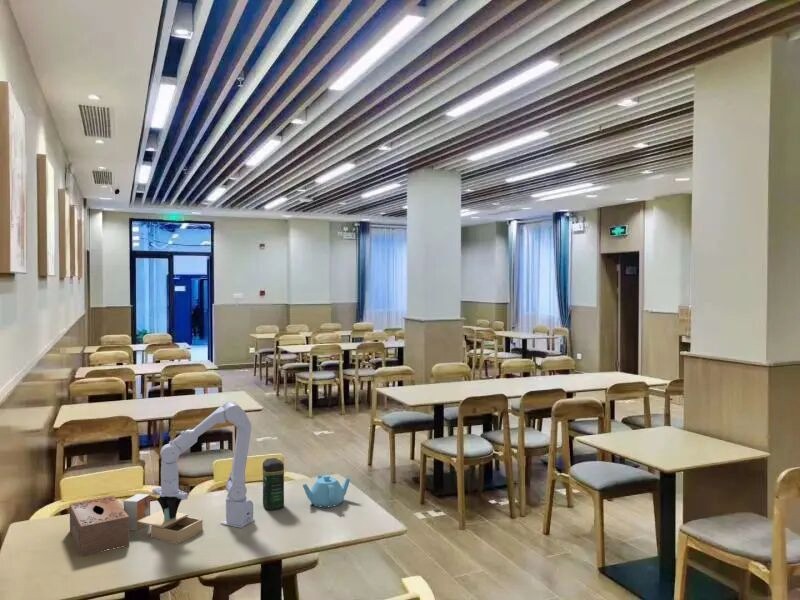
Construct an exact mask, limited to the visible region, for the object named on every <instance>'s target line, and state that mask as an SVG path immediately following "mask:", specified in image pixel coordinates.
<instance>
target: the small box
mask: <svg viewBox="0 0 800 600" xmlns="http://www.w3.org/2000/svg"><path fill="white" fill-rule="evenodd" d="M123 509H124V510H125V512H126V513H127V515H128V516H129V531H138V530H141V529H142V528H143V527H145V526H146V525H145V524H140V523H137V521H138V520H140V519H143V518H145V517H147V516H149V515H151V494H148V493H136V494H134V495H132V496H131V497H129V498H127V499H124V500H123Z"/></svg>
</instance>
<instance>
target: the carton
mask: <svg viewBox="0 0 800 600" xmlns="http://www.w3.org/2000/svg"><path fill="white" fill-rule="evenodd" d="M203 521H204V520H203V519H201V518H196V517H191V516H187V517H185V518H183V519H181V520H178V521H176V522H174V523H172V524H170V525H168V526H166V527H164V528H160V527H155V526H150V538H151V539H154V540H158V541H162V542H168V543H173V544H176V545H177V544H178V545H179V543H181V542H184V541H186V540H188V539H190V538H191V537H193V536H195V535H197V534H199V533H201V532H202V531H203V529H204V528H203V525H204V524H203V523H204V522H203ZM189 537H190V538H189Z"/></svg>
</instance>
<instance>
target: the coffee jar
mask: <svg viewBox="0 0 800 600" xmlns="http://www.w3.org/2000/svg"><path fill="white" fill-rule="evenodd" d="M262 505H263V508H265V509H266V510H273V509H276V510H279V509H282V508H284V506H285V464H284V462H283V461H282V460H281V459H278V458H277V457H269V458H266V459H265V460H264V461H263V462H262Z"/></svg>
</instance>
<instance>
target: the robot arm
mask: <svg viewBox="0 0 800 600" xmlns="http://www.w3.org/2000/svg"><path fill="white" fill-rule="evenodd" d="M226 421H228V422H229V423H231V424H233V426H235V428H237V429H236V430H237V431H236V436H235V437H236V438H235V444H234V445H235V446H234V451H233V459H232V464H231V471H230V473H229V477H228V479H227V480H226V482H225V489H226V492H227V495H226V496H225V520H223V521H222V522H220V524H221V525H224V526H231V527H235V528H244V527H246V526H247V525H249V524H251V523H252V522H254V521H255V518H254V503H253V501H252V500H251V499H249V498H248V497H247V492H248V490H247V487H246V469H247V461H248V455H249V447H250V440H251V439H250V438H251V434H252V433H251V432H252V423H251V422H250V419H249V416H248V415H247V412H246V411H245V410H244V409H243V408H242V407H241V406H240V405H239V404H237V403H236V402H235V401H227V402H225V403H223V405H221V406H219V407H218V408H217V409H216V410H214V411H213V412H212V413H211V414H209V416H207V417H206V418H205V419H203V420H202V421H201V422H199V424H198V425H196V426H195V427H194V428H193V429H186V430H182V431H180V434H179V435H178V436H177V437H175V438H174V439H173V440H170V441H168V443H167V444H164V445H163V446H162V447H161V448H160V451H159V455H160V458H161V461H160V464H161V466H160V487H156V488H153V489H152V495H153V496H155V495H158V496H159V497H158V498H157V499H156V501H157V502H158V504H159V505H160V507H161V510H163V513H164V509H166V508H168V507H169V515H170V519H172V518H174V517H176V514H177V512H178V510H179V509H178V508H179V506H180V504H181V502H182V501H185V500H187V499H188V498H189V497H188V494H189V493H188V492H185V491H183V490H180V489H179V464H178V460H179V457H180V455H181V454H183V453H185V452H187V450H189V449H190V448H191V447H193V445H195V444H196V443H197V442H198V438H199V437H200V436H201V435H203V434H204V433H206V431H208V430H210V429H211V428H212V427H214V426H215V425H218V424H226V423H227V422H226Z"/></svg>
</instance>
